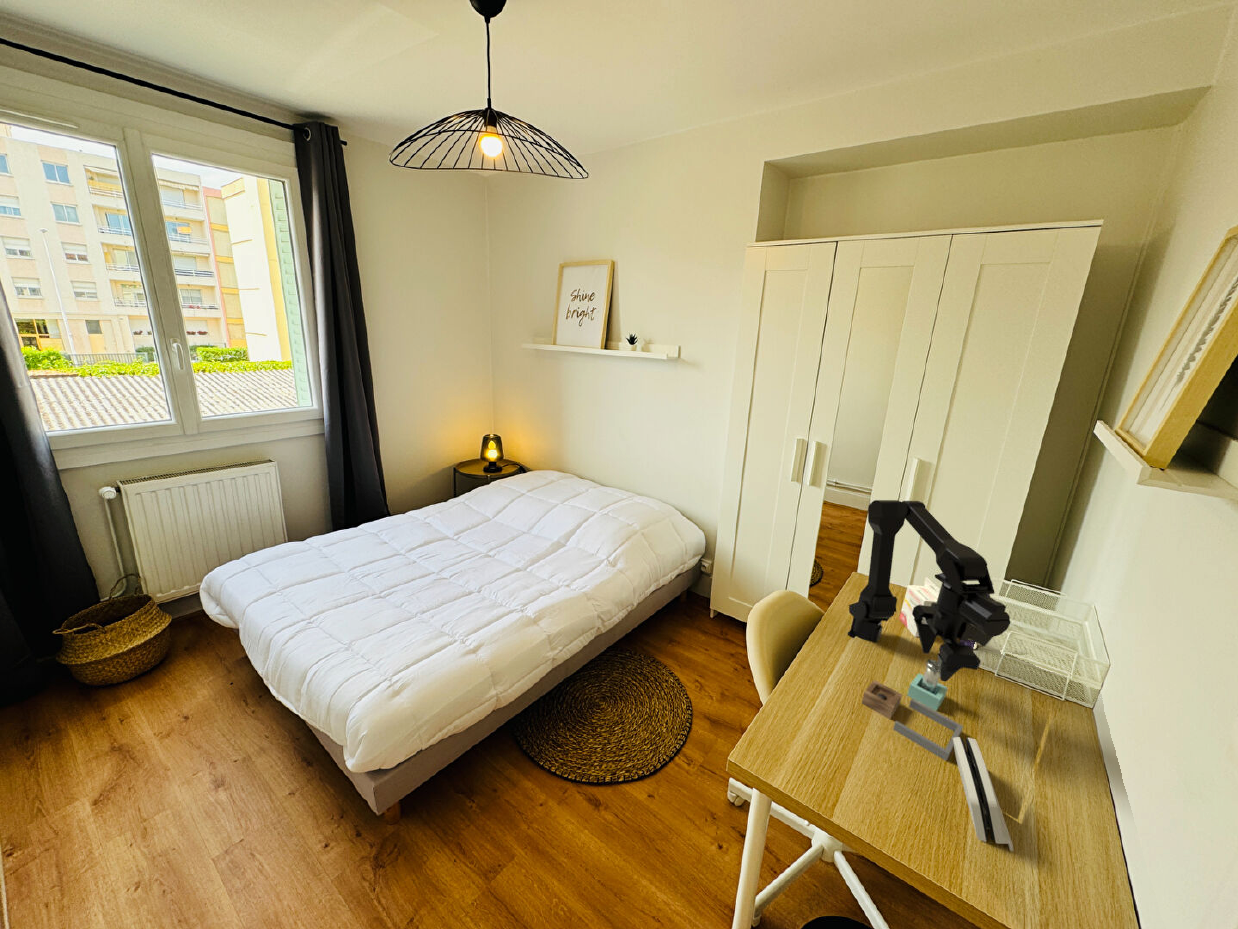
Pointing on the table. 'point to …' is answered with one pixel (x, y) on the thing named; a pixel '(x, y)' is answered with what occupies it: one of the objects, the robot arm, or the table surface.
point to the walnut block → (881, 699)
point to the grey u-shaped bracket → (924, 741)
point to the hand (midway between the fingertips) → (934, 666)
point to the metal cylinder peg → (931, 676)
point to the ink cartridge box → (917, 602)
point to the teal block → (926, 693)
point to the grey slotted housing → (976, 781)
